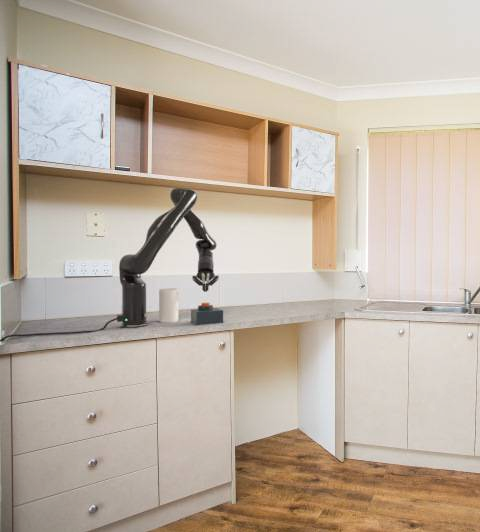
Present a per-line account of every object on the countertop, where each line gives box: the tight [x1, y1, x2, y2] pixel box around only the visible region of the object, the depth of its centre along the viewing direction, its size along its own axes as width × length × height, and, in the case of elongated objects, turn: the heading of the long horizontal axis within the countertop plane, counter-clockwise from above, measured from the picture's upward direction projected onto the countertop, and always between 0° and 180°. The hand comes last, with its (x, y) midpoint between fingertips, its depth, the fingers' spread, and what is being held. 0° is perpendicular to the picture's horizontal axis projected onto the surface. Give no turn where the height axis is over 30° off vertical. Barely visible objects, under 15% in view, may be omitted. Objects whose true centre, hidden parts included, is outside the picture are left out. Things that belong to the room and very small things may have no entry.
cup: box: [158, 288, 179, 323], centre depth 195 cm, size 8×8×16 cm
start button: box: [200, 302, 211, 306], centre depth 195 cm, size 4×4×2 cm
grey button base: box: [190, 304, 224, 326], centre depth 194 cm, size 12×12×8 cm
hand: (205, 290), depth 201 cm, fingers closed
